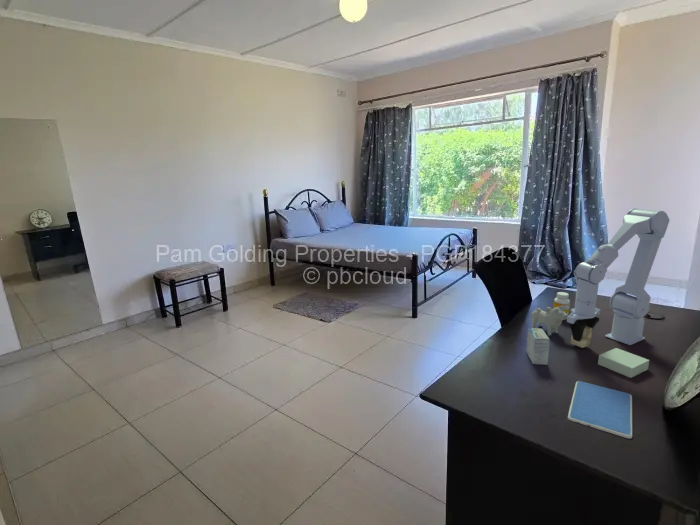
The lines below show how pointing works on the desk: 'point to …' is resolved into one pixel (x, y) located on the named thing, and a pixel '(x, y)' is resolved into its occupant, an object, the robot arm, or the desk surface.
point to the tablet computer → (602, 409)
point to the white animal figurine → (549, 318)
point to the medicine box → (537, 346)
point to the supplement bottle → (562, 301)
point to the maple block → (583, 338)
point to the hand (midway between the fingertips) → (580, 338)
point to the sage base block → (623, 362)
